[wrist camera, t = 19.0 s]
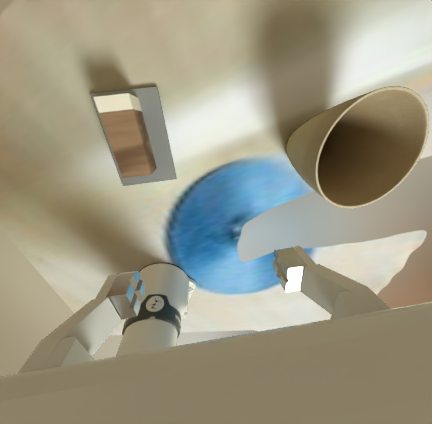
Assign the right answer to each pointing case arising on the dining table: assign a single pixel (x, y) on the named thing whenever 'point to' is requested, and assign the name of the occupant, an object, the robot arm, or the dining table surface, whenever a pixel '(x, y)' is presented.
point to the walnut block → (127, 133)
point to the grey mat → (155, 132)
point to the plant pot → (361, 146)
